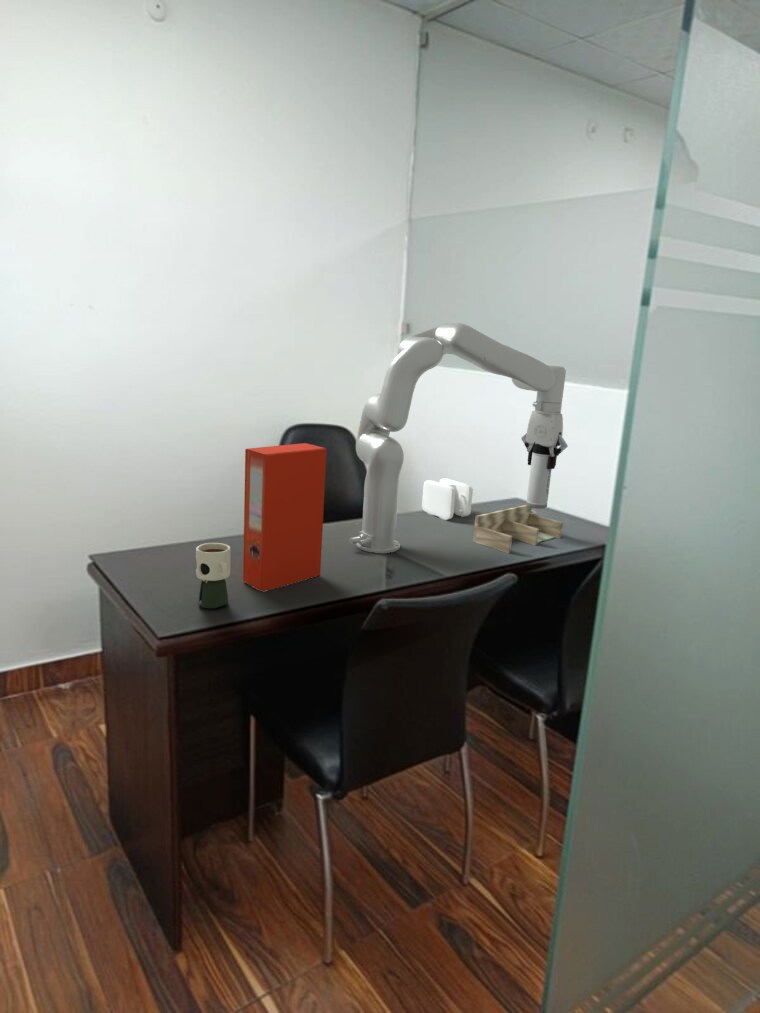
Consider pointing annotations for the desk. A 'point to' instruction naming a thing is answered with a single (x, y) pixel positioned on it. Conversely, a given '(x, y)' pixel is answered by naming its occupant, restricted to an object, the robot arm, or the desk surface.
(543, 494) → the travel mug
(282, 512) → the file binder
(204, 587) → the character mug
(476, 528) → the desk dock
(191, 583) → the desk surface
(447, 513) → the cable organizer
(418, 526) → the desk surface
